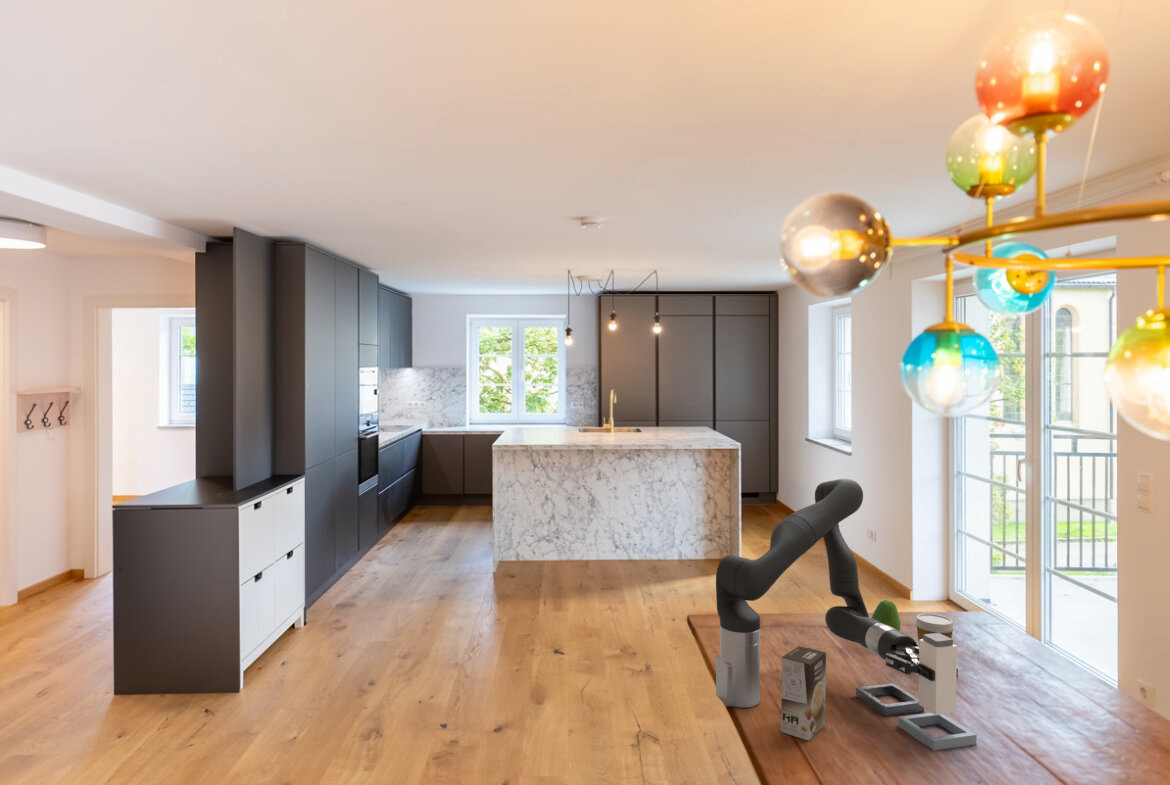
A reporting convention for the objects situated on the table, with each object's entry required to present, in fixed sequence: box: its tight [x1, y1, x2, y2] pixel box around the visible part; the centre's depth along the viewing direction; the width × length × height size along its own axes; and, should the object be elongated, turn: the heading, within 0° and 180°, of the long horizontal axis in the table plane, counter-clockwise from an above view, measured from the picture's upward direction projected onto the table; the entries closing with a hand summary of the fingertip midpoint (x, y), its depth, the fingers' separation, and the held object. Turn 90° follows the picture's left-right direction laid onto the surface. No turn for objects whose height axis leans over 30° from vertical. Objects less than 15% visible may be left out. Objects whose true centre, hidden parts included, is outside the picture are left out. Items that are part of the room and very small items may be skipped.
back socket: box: [855, 682, 925, 717], centre depth 161 cm, size 10×10×2 cm
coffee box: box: [780, 645, 827, 741], centre depth 149 cm, size 9×6×16 cm
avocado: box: [871, 599, 901, 632], centre depth 200 cm, size 8×8×12 cm
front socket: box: [898, 712, 977, 751], centre depth 147 cm, size 10×10×2 cm
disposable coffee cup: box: [914, 613, 956, 642], centre depth 184 cm, size 10×10×12 cm
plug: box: [918, 633, 958, 715], centre depth 147 cm, size 5×5×15 cm
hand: (945, 674), depth 145 cm, fingers closed on plug, 5 cm apart
